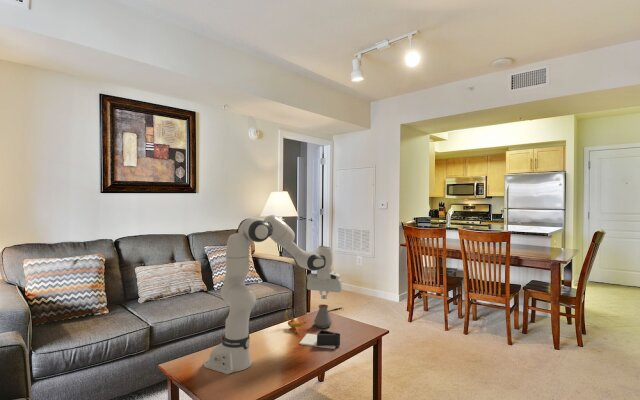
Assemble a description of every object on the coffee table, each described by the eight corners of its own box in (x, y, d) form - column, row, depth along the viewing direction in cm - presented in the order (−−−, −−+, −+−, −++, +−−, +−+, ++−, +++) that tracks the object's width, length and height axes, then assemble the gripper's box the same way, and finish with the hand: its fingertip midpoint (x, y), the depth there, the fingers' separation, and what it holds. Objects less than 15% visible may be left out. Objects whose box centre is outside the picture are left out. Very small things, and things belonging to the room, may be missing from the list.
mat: (299, 344, 187) (299, 342, 187) (306, 334, 201) (306, 333, 201) (334, 348, 182) (334, 347, 182) (339, 338, 196) (339, 337, 196)
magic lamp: (303, 335, 200) (303, 317, 200) (281, 328, 210) (281, 310, 211) (310, 331, 205) (310, 313, 205) (288, 325, 216) (288, 308, 216)
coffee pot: (310, 326, 215) (310, 302, 215) (321, 321, 224) (322, 298, 224) (336, 334, 201) (337, 310, 201) (347, 329, 210) (348, 305, 210)
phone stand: (316, 345, 184) (338, 348, 180) (316, 334, 184) (338, 337, 181) (321, 339, 192) (341, 342, 189) (321, 329, 193) (341, 331, 189)
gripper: (305, 274, 191) (305, 298, 191) (340, 276, 185) (340, 301, 185) (308, 271, 197) (308, 295, 197) (342, 274, 192) (342, 298, 191)
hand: (324, 298), depth 191 cm, fingers closed
